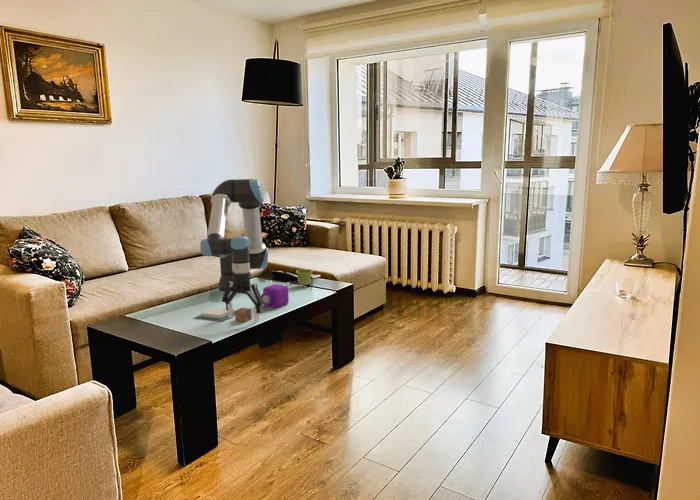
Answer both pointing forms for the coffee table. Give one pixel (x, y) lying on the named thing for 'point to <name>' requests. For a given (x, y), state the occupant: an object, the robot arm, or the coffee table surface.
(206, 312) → the tile
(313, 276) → the paint knife
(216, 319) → the mat
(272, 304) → the toy camera
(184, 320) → the coffee table surface
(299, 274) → the plant pot
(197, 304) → the coffee table surface
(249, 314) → the block
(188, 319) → the coffee table surface
